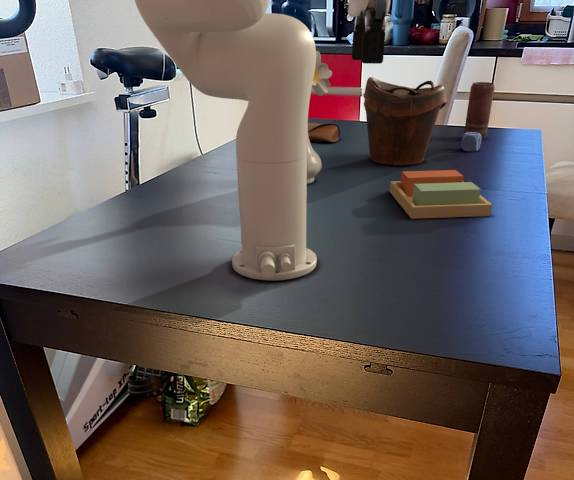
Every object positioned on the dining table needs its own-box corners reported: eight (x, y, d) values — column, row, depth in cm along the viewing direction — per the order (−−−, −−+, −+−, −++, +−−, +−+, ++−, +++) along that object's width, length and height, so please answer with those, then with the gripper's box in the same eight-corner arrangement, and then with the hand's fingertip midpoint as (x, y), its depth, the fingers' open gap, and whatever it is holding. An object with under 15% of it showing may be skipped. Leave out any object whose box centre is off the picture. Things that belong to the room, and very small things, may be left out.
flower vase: (333, 171, 133) (337, 45, 119) (322, 193, 118) (325, 52, 104) (278, 169, 135) (276, 46, 121) (260, 190, 120) (255, 52, 106)
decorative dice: (475, 152, 147) (478, 135, 145) (460, 150, 149) (462, 134, 147) (479, 149, 150) (482, 132, 148) (464, 147, 152) (467, 131, 150)
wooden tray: (490, 216, 104) (492, 204, 103) (411, 218, 103) (412, 207, 102) (459, 189, 119) (460, 179, 118) (389, 191, 118) (390, 181, 117)
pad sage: (477, 209, 106) (481, 189, 104) (418, 211, 105) (421, 191, 103) (468, 201, 110) (471, 181, 108) (411, 203, 109) (413, 183, 107)
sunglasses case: (271, 138, 162) (274, 114, 161) (277, 148, 168) (280, 124, 168) (334, 142, 157) (337, 117, 157) (338, 151, 164) (341, 127, 164)
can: (458, 137, 163) (466, 82, 155) (475, 135, 165) (484, 81, 157) (472, 141, 158) (481, 84, 150) (490, 139, 160) (500, 83, 153)
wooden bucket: (454, 164, 137) (466, 79, 127) (380, 172, 131) (387, 84, 121) (414, 149, 151) (422, 72, 141) (345, 156, 145) (349, 76, 135)
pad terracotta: (460, 194, 113) (463, 176, 111) (405, 196, 113) (407, 177, 111) (452, 188, 118) (455, 169, 116) (400, 189, 117) (401, 171, 115)
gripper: (342, -70, 88) (335, 58, 97) (359, -89, 73) (350, 64, 82) (390, -69, 88) (379, 59, 97) (417, -87, 74) (402, 65, 83)
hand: (366, 61), depth 90 cm, fingers open, 9 cm apart
